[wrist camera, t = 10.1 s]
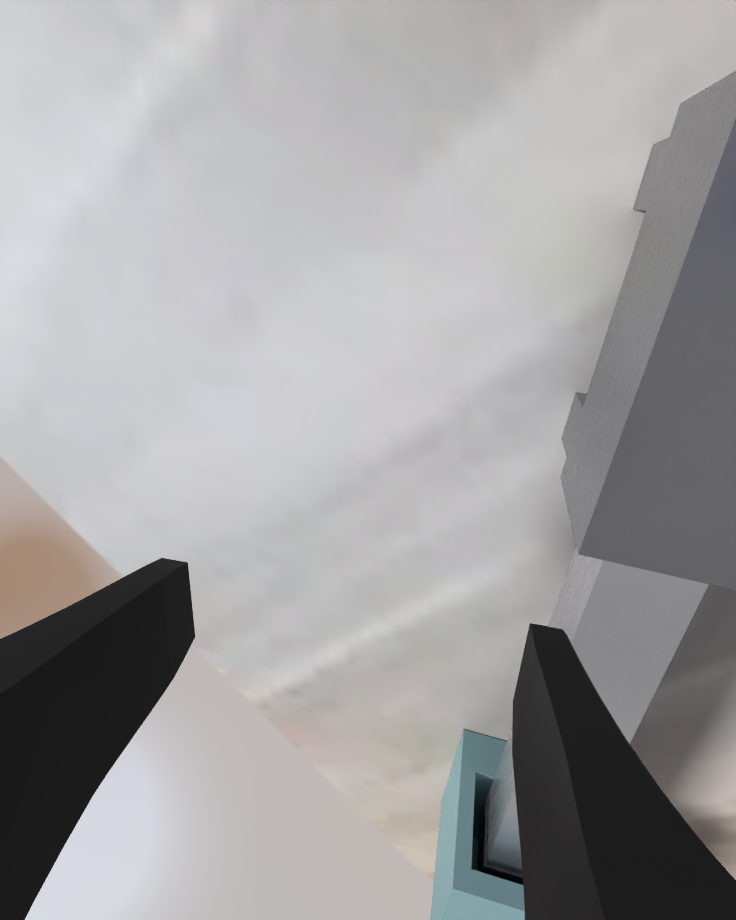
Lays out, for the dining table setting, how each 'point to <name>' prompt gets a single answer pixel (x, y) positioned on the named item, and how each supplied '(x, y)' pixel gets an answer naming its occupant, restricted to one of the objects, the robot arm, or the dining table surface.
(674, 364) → the sleeve
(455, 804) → the socket
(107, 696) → the robot arm
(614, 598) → the extension bar
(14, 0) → the dining table surface
